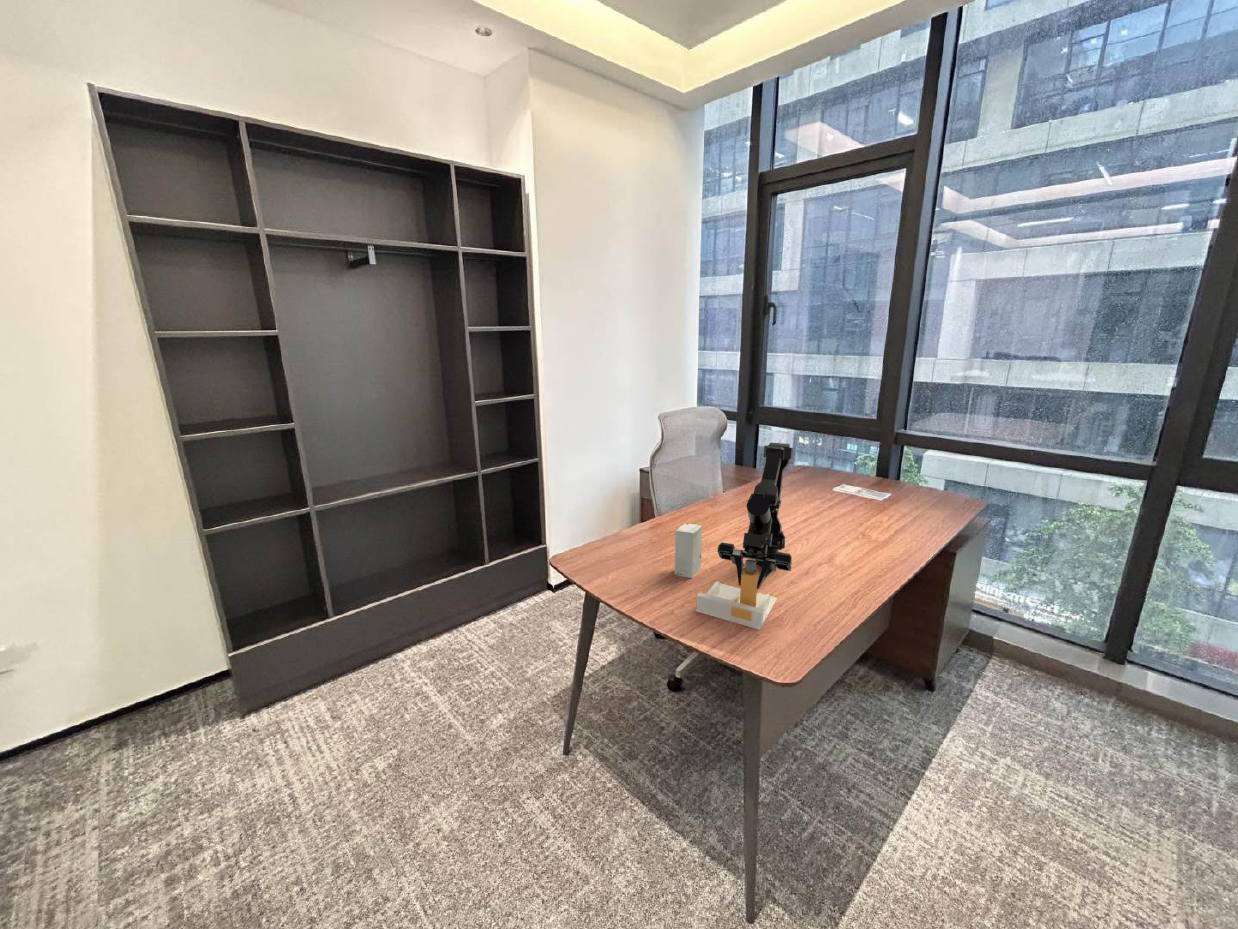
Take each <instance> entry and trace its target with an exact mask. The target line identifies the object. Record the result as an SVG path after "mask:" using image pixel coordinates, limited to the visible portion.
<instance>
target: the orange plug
mask: <svg viewBox="0 0 1238 929" xmlns="http://www.w3.org/2000/svg"><path fill="white" fill-rule="evenodd" d="M744 566H745V567H743V570H742V574H741V586H740V588H741V590H740V603H742V604H746V605H749V606H753V607H756V603H757V593H758V589H757V583H758V579H759V569H756V568H757V567H756V566H757V564H756V561H754V560H753V559H746V560H745V563H744Z"/></svg>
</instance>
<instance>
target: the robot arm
mask: <svg viewBox="0 0 1238 929" xmlns="http://www.w3.org/2000/svg"><path fill="white" fill-rule="evenodd" d="M793 455H794V447H791V443H779V442H771V441H770V442H769V444H768V445H764V448H763V458H765V464H764V468H763V471H762V475H761V480H760V482H759V483H757V484H756V485H755V486H754V489H753V492H752V493H751V494H750V496H749V498H748V500H747V502H746V510H747V514H748V520H749V526H748V530H747V532H744V534H743V541H742V548H743V549H739V548H736V547H735V544H734V543H728V542H720V543H719V544H718V547H717V554H718V557H719V559H721V560H726V561H731V563H732V564H733V565H735V567H736V574H737V579H738V580H737V581H738V586H740V587H741V574H742V570H743V568H744V566H745V563H744V561H743V560H744V559H746V560H748V559H751V560H754V561H756V565H759V566H761V570H760V573H759V575H758V583H757V590H759V589H760V588H761V586H762V585H763V583H764V582H765V580H766V579H767V577H768V576H770V574H771V573H772V572H776V571H777V569H778V570H781V571H786V572H791V571H792V566H793V565H792V564H793V560H792V558H793V557H792V555H791V554H790V553H787V552H782V550H783V549H785V547H786V536H785V535H784V534H785V533H784V531H783V525H782V523H781V521H780V519H779V513H780V512H779V511H780V508H781V506H782V500H781V494H782V486H783V478H784V472H785V470H786V469H787V468H788V467H789V466H790V464H791V462H790V461H791V460H792V459H793Z"/></svg>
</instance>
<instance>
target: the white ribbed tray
mask: <svg viewBox="0 0 1238 929" xmlns="http://www.w3.org/2000/svg"><path fill="white" fill-rule="evenodd" d="M740 590H741V587H736V586H734V585H733V586H731V585H728V584H724V583H721V582H720V581H715V583H713V585H712V586H711V588H710V589H709V590H708V591H707V592H706V593H703V592H699V593H698V594H697V595H696V609H695V612H696V613H701V614H705V615H708V616H712V617H714V618H719V619H721V620H725V621H728V622H732V623H735V624H739V625H742V626H746V627H750V628H752V629H757V630H761V628H762V626H763V624H764V623H765V621H766V619H767V617H768V616H769V615H770V614H769V613H770V612H771V610H772V608H773V607H774V605H775V603H776V601H777V600H778V597H775V596H772V595H771V594H767V593H766V594H764V593H760V592H757V603H756V607H753V606H749V605H746V604H742V603H740Z"/></svg>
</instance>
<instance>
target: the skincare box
mask: <svg viewBox="0 0 1238 929" xmlns="http://www.w3.org/2000/svg"><path fill="white" fill-rule="evenodd" d="M702 531H703V526H702V525H699V524H692V523H686V522H685V523H684V524H683V525H680V526H679V528H678V529H676V530H675V533H674V535H675V538H674V575H675V576H680V577H683V578H684V577H685V578H689V579H693V577H694V576H695V575H696V574H697V572H699V571H700V570H701V569H702V534H703V532H702Z"/></svg>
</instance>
